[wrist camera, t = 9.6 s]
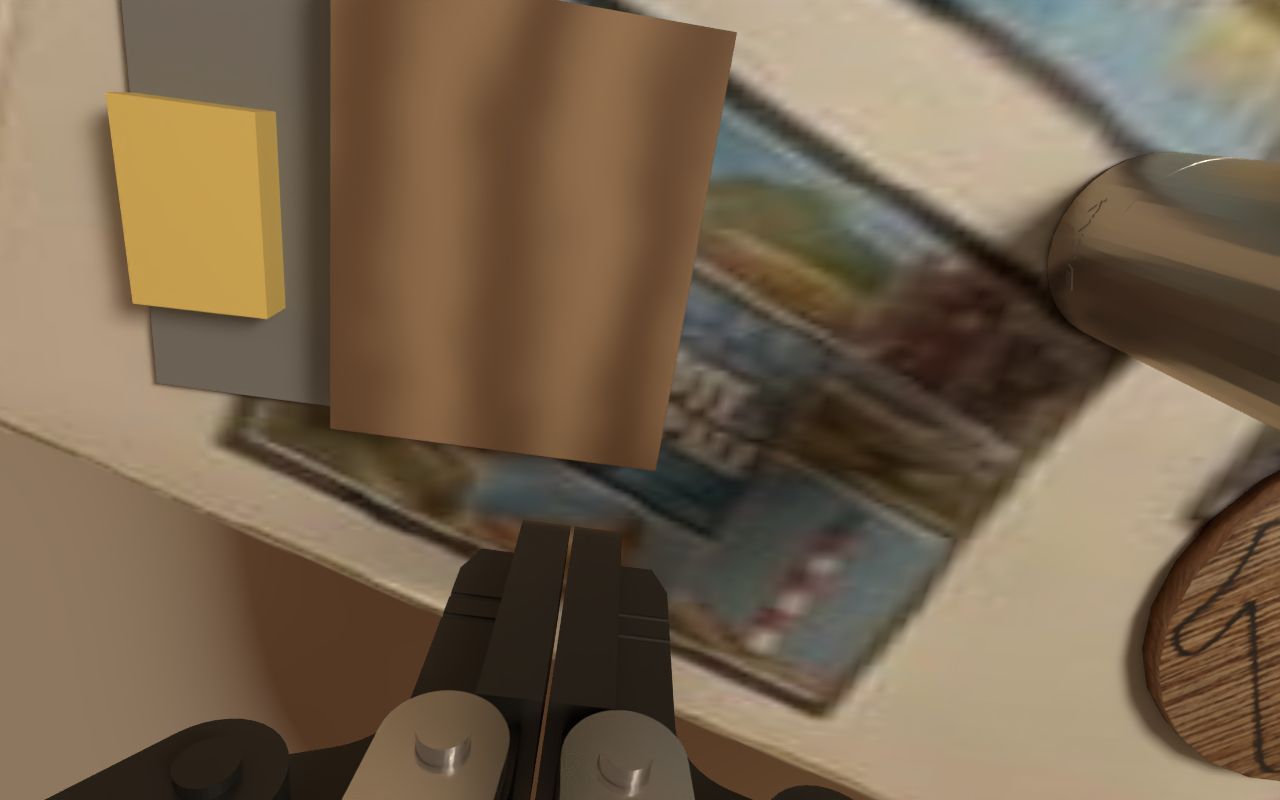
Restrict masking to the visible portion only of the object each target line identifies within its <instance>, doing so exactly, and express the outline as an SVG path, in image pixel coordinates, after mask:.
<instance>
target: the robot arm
mask: <svg viewBox="0 0 1280 800" xmlns="http://www.w3.org/2000/svg"><path fill="white" fill-rule="evenodd" d="M1047 276H1048V281H1049V287H1050V293H1051V295H1052V297H1053V300H1054V302H1055V304H1056V306H1057V308H1058V310H1059V311H1060V312H1061V314H1062V315H1063V316H1064V317H1065V318H1066V320H1067V321H1068V322H1069V323H1071V324H1072V325H1073V326H1075V327H1076V328H1078V329H1079V330H1080V331H1082V332H1084V333H1086V334H1088V335H1090V336H1092V337H1094V338H1096V339H1098V340H1100V341H1102V342H1104V343H1106V344H1108V345H1110V346H1112V347H1114V348H1116V349H1118V350H1120V351H1122V352H1124V353H1126V354H1127V355H1129V356H1131V357H1133V358H1135V359H1137V360H1139V361H1141V362H1143V363H1145V364H1147V365H1149V366H1151V367H1153V368H1155V369H1157V370H1159V371H1161V372H1163V373H1165V374H1167V375H1169V376H1171V377H1173V378H1175V379H1177V380H1179V381H1181V382H1183V383H1185V384H1187V385H1189V386H1191V387H1193V388H1195V389H1197V390H1199V391H1201V392H1203V393H1205V394H1207V395H1209V396H1211V397H1213V398H1215V399H1217V400H1219V401H1221V402H1223V403H1225V404H1227V405H1229V406H1231V407H1233V408H1235V409H1237V410H1239V411H1241V412H1243V413H1245V414H1247V415H1249V416H1251V417H1253V418H1255V419H1257V420H1259V421H1261V422H1263V423H1265V424H1267V425H1269V426H1271V427H1273V428H1275V429H1277V430H1279V431H1280V162H1271V161H1261V160H1250V159H1242V158H1233V157H1223V156H1212V155H1201V154H1190V153H1179V152H1161V153H1150V154H1146V155H1143V156H1139V157H1135V158H1131V159H1129V160H1127V161H1125V162H1123V163H1121V164H1119V165H1116V166H1114V167H1112V168H1110V169H1109V170H1108V171H1106V172H1105V173H1103V174H1102V175H1101V176H1099V177H1098V178H1096V179H1095V180H1094V181H1092V182H1091V183H1090V184H1089V185H1088V186H1087V187H1086V188H1085V189H1084V190H1083V191H1082V192H1081V193H1080V194H1079V195H1078V196H1077V197H1076V198H1075V200H1074V201H1073V203H1072V204H1071V205H1070V207H1069V208H1068V210H1067V211H1066V213H1065V214H1064V215H1063V217H1062V219H1061V221H1060V223H1059V225H1058V228H1057V230H1056V232H1055V234H1054V236H1053V240H1052V244H1051V248H1050V252H1049V255H1048V273H1047ZM570 527H571V526H564V525H556V524H549V523H541V522H533V521H526V520H524V521H523V523H522V526H521V530H520V533H519V537H518V541H517V544H516V548H515V552H514V553H512V552H504V551H496V550H489V549H482V550H481V551H479V552H478V553H477V554H476V555H475V556H474V557H472V558H471V559H470V560H469V561H468V562H467V563H465V564H464V565H463V566H462V567H461V568H460V571H459V573H458V576H457V578H456V581H455V584H454V586H453V589H452V592H451V597H449V599H448V602H447V605H446V607H445V610H444V614H443V617H442V618H441V621H440V623H439V626H438V628H437V631H436V633H435V636H434V639H433V641H432V644H431V647H430V649H429V652H428V654H427V657H426V660H425V662H424V665H423V668H422V670H421V673H420V675H419V679H418V681H417V683H416V686H415V689H414V691H413V694H412V696H411V698H410V699H409V700H408V701H406V702H404V703H403V704H401V705H399V706H398V707H397V708H396V709H394V710H393V711H392V712H391V713H390V714H389V715H388V716H387V717H386V718H385V719H384V721H383V723H382V724H381V726H380V727H379V729H378V731H377V732H376V733H375V734H373V735H371V736H369V737H366V738H364V739H362V740H360V741H356V742H353V743H350V744H347V745H342V746H337V747H333V748H326V749H319V750H314V751H307V752H300V753H294V754H289V753H288V749H287V746H286V743H285V742H284V740H283V739H282V738H281V736H280V735H279V734H278V733H277V732H276V731H275V730H273V729H272V728H270V727H268V726H266V725H265V724H262V723H259V722H256V721H252V720H245V719H223V720H214V721H210V722H205V723H201V724H198V725H195V726H192V727H189V728H187V729H185V730H182V731H180V732H178V733H176V734H174V735H172V736H170V737H168V738H166V739H164V740H162V741H160V742H158V743H156V744H154V745H152V746H150V747H148V748H146V749H144V750H142V751H140V752H138V753H136V754H134V755H132V756H130V757H128V758H126V759H124V760H122V761H120V762H119V763H116V764H114V765H112V766H110V767H109V768H107V769H105V770H103V771H101V772H99V773H97V774H95V775H93V776H91V777H89V778H87V779H85V780H83V781H81V782H79V783H77V784H75V785H73V786H71V787H69V788H67V789H65V790H63V791H61V792H59V793H57V794H55V795H53V796H51V797H49V798H47V799H45V800H530V797H531V790H532V784H533V778H534V772H535V765H536V758H537V752H538V745H539V739H540V733H541V726H542V720H543V713H544V707H545V700H546V694H547V687H548V681H549V674H550V667H551V661H552V655H553V648H554V641H555V635H556V628H557V621H558V614H559V607H560V599H561V592H562V585H563V578H564V571H565V564H566V556H567V549H568V542H569V535H570ZM621 539H622V535H621V533H618V532H611V531H603V530H596V529H588V528H580V527H575V529H574V536H573V543H572V549H571V556H570V563H569V570H568V577H567V583H566V590H565V597H564V604H563V610H562V617H561V624H560V631H559V638H558V644H557V651H556V658H555V665H554V671H553V678H552V685H551V692H550V699H549V706H548V713H547V720H546V727H545V735H544V741H543V748H542V755H541V762H540V770H539V777H538V784H537V791H536V798H535V800H752V799H750V798H747V797H745V796H742V795H740V794H737V793H735V792H733V791H730V790H728V789H726V788H724V787H722V786H720V785H718V784H717V783H715V782H714V781H712V780H710V779H709V778H708V777H706V776H705V775H704V774H703V773H701V772H700V771H699V770H698V769H697V768H696V767H695V766H694V765H693V764H692V763H691V761H690V760H689V759H688V757H687V755H686V752H685V750H684V748H683V746H682V744H681V743H680V741H679V740H678V738H677V735H676V729H675V719H674V718H675V717H674V701H673V685H672V669H671V652H670V645H669V641H670V636H669V624H668V603H667V593H666V591H665V590H664V588H663V587H662V585H661V584H660V582H659V581H658V579H657V577H656V576H655V574H654V573H653V571H652V570H646V569H638V568H630V567H622V566H621ZM771 800H853V799H851V798H849V797H847V796H845V795H843V794H841V793H839V792H837V791H834V790H831V789H828V788H824V787H819V786H809V785H805V786H795V787H792V788H788V789H786V790H784V791H782V792H780V793H778V794H777V795H776V796H775V797H774V798H772V799H771Z"/></svg>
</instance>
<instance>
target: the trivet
mask: <svg viewBox="0 0 1280 800" xmlns="http://www.w3.org/2000/svg"><path fill="white" fill-rule="evenodd" d="M1142 652H1143V660H1144V668H1145V676H1146V684H1147V688H1148V690H1149V692H1150V694H1151V696H1152V697H1153V699H1154V701H1155V703H1156V705H1157V706H1158V708H1159V710H1160V712H1161V714H1162V716H1163V717H1164V719H1165V720H1166V721H1167V723H1168V724H1169V725H1170V726H1171V727H1172V728H1173V729H1174V731H1175V732H1176V733H1177V734H1178V735H1179V736H1180V737H1181V738H1182V739H1183V740H1184V741H1185V742H1186V743H1188V744H1189V745H1190V746H1191V747H1193V748H1194V749H1195V750H1196V751H1197V752H1199V753H1200V754H1201V755H1202V756H1203V757H1205V758H1206V759H1207V760H1208V761H1210V762H1211V763H1214V764H1216V765H1219V766H1222V767H1224V768H1227V769H1229V770H1232V771H1234V772H1237V773H1239V774H1242V775H1245V776H1247V777H1252V778H1260V779H1268V780H1277V781H1280V471H1278V472H1276V473H1274V474H1272V475H1270V476H1268V477H1266V478H1264V479H1263V480H1261V481H1260V482H1259V483H1257V484H1256V485H1255V486H1254V487H1252V488H1251V489H1250V490H1248V491H1247V492H1246V493H1245V494H1243V495H1242V496H1241V497H1239V498H1238V499H1237V500H1236V501H1234V502H1233V503H1232V504H1230V505H1229V506H1228V507H1227V508H1225V509H1224V510H1223V511H1221V512H1220V513H1219V514H1218V515H1216V516H1215V517H1214V518H1213V519H1212V520H1211V521H1210V522H1209V523H1208V525H1207V526H1206V527H1205V528H1204V529H1203V530H1202V531H1201V533H1200V534H1199V535H1198V536H1197V537H1196V538H1195V540H1194V541H1193V542H1192V543H1191V544H1190V545H1189V546H1188V548H1187V549H1186V550H1185V551H1184V552H1183V553H1182V555H1181V556H1180V557H1179V558H1178V559H1177V560H1176V561H1175V563H1174V565H1173V567H1172V569H1171V571H1170V573H1169V575H1168V576H1167V578H1166V580H1165V582H1164V584H1163V586H1162V588H1161V590H1160V591H1159V593H1158V595H1157V597H1156V599H1155V601H1154V603H1153V605H1152V607H1151V611H1150V616H1149V620H1148V625H1147V630H1146V634H1145V639H1144V643H1143V648H1142Z"/></svg>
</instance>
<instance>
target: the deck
mask: <svg viewBox="0 0 1280 800" xmlns="http://www.w3.org/2000/svg"><path fill="white" fill-rule="evenodd" d="M736 34H737V32H731V31H726V30H720V29H715V28H709V27H704V26H698V25H692V24H687V23H681V22H676V21H670V20H664V19H659V18H653V17H648V16H642V15H637V14H631V13H625V12H620V11H614V10H609V9H603V8H598V7H592V6H586V5H581V4H575V3H570V2H564V1H558V0H331V77H330V429H337V430H345V431H353V432H360V433H368V434H376V435H383V436H391V437H399V438H406V439H414V440H422V441H429V442H437V443H445V444H453V445H460V446H468V447H476V448H483V449H491V450H499V451H506V452H514V453H522V454H529V455H537V456H545V457H552V458H560V459H568V460H575V461H583V462H591V463H599V464H606V465H614V466H622V467H629V468H637V469H645V470H652V471H656V466H657V461H658V455H659V450H660V445H661V439H662V434H663V428H664V423H665V418H666V412H667V407H668V401H669V396H670V391H671V385H672V380H673V374H674V369H675V364H676V358H677V353H678V347H679V342H680V337H681V331H682V326H683V320H684V315H685V310H686V304H687V299H688V294H689V288H690V283H691V277H692V272H693V267H694V261H695V256H696V250H697V245H698V240H699V234H700V229H701V223H702V218H703V213H704V207H705V202H706V196H707V191H708V186H709V180H710V175H711V169H712V164H713V159H714V153H715V148H716V142H717V137H718V132H719V126H720V121H721V115H722V110H723V105H724V99H725V94H726V88H727V83H728V78H729V72H730V67H731V61H732V56H733V51H734V45H735V40H736Z"/></svg>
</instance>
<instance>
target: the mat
mask: <svg viewBox="0 0 1280 800" xmlns="http://www.w3.org/2000/svg"><path fill="white" fill-rule="evenodd" d="M121 4H122V15H123V25H124V36H125V47H126V58H127V68H128V79H129V90H130V93H141V94H149V95H156V96H163V97H171V98H178V99H186V100H193V101H200V102H208V103H215V104H222V105H230V106H237V107H245V108H252V109H259V110H267V111H274V112H276V127H277V147H278V167H279V187H280V207H281V227H282V247H283V266H284V286H285V306H286V308H285V309H283V310H281V311H280V312H278V313H277V314H275V315H273V316H272V317H270V318H268V319H261V318H253V317H244V316H236V315H227V314H218V313H210V312H201V311H193V310H184V309H176V308H167V307H158V306H150V316H151V326H152V337H153V348H154V359H155V369H156V380H157V383H158V384H166V385H173V386H181V387H188V388H196V389H204V390H211V391H219V392H226V393H234V394H241V395H249V396H256V397H264V398H272V399H279V400H287V401H294V402H302V403H309V404H317V405H324V406H330V77H331V0H121Z"/></svg>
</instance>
